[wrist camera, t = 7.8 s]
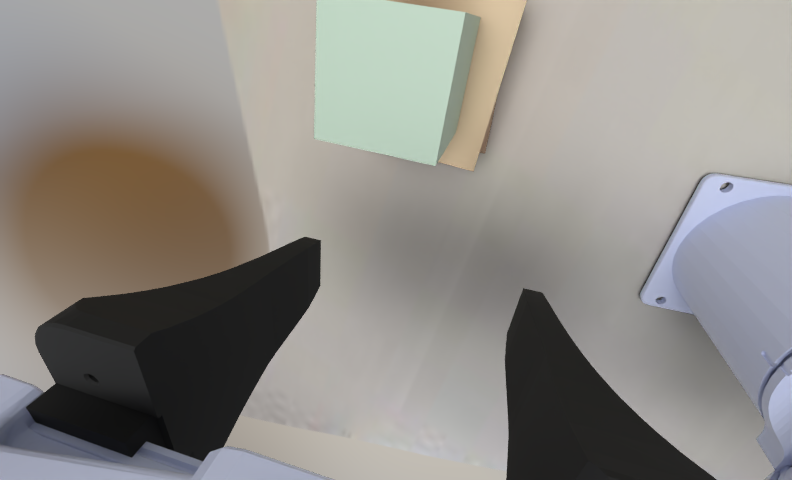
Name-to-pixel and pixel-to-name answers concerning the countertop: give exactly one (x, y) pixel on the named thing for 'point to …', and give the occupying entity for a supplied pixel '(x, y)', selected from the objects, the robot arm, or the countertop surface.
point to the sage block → (391, 76)
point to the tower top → (480, 71)
